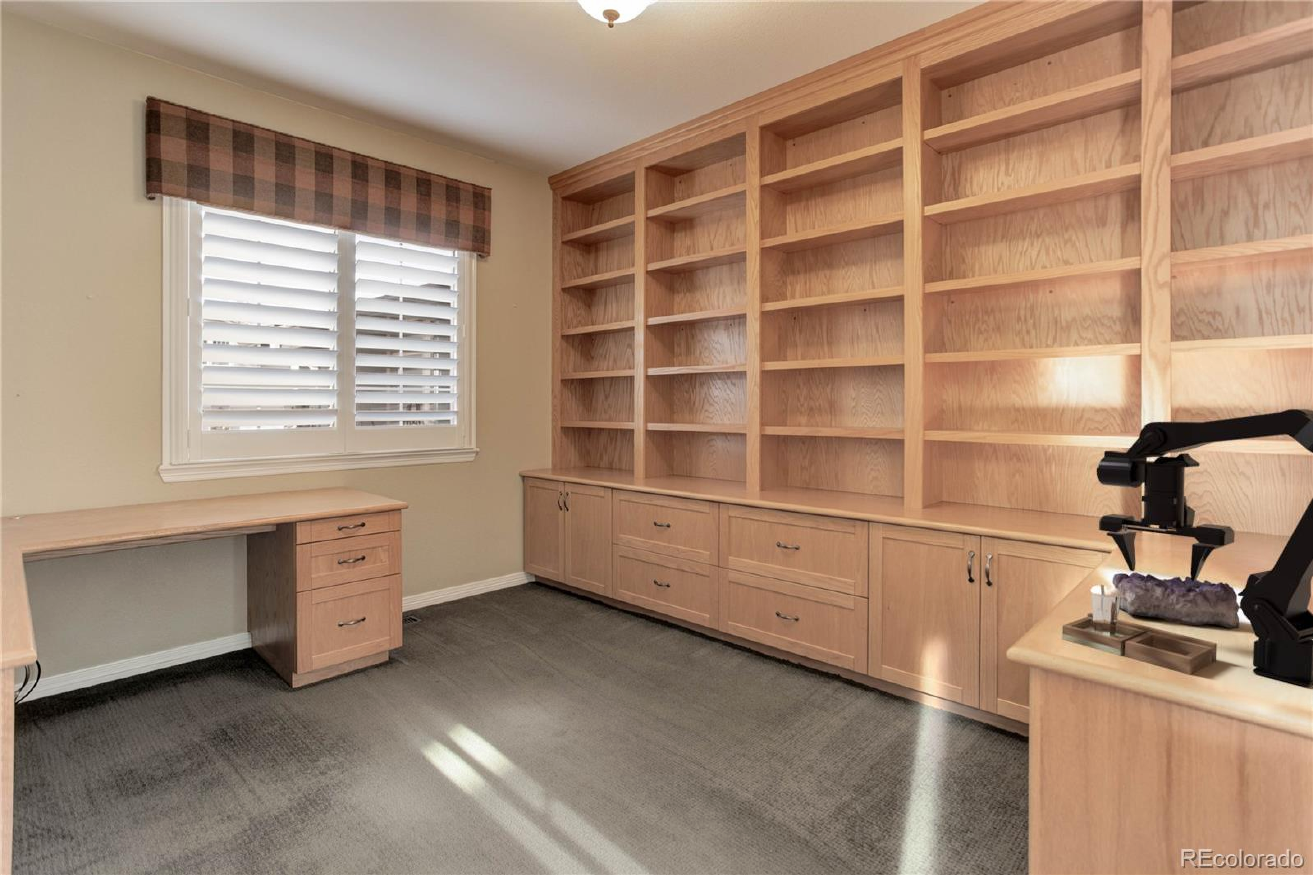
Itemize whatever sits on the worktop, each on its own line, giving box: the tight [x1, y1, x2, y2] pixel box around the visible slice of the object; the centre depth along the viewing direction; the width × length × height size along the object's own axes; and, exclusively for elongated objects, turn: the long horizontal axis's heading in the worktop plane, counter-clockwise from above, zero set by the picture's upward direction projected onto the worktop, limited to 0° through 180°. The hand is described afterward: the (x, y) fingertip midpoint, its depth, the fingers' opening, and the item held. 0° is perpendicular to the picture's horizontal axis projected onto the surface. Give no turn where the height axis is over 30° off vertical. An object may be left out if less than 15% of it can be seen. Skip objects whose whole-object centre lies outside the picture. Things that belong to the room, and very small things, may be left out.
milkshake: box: [1090, 584, 1122, 638], centre depth 116 cm, size 4×5×10 cm
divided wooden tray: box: [1061, 612, 1218, 675], centre depth 113 cm, size 19×11×3 cm, turn 32°
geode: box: [1112, 572, 1241, 630], centre depth 130 cm, size 20×12×10 cm, turn 60°
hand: (1162, 575), depth 117 cm, fingers open, 9 cm apart
